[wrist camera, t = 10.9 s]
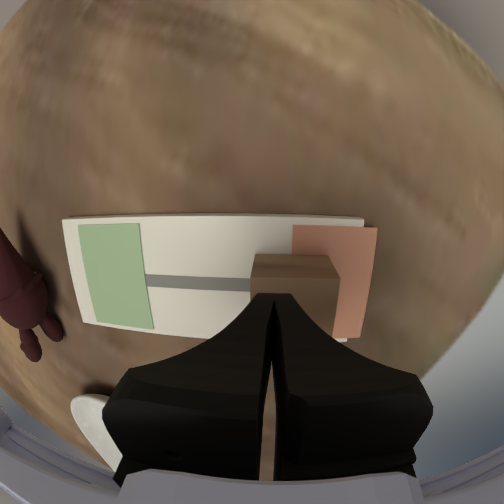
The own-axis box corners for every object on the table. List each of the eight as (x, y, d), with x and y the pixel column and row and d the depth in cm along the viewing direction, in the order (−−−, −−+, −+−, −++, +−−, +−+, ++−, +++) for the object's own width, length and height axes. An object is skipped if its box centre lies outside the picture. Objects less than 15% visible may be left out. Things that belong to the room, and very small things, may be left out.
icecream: (-40, 237, 16) (18, 360, 22) (-29, 230, 13) (44, 379, 19) (7, 213, 22) (54, 328, 28) (30, 201, 19) (86, 338, 25)
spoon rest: (68, 377, 28) (40, 411, 21) (136, 381, 27) (110, 427, 20) (145, 472, 35) (134, 503, 28) (207, 479, 33) (199, 514, 27)
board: (355, 334, 22) (358, 342, 21) (88, 317, 24) (82, 323, 23) (372, 217, 19) (378, 221, 18) (68, 217, 21) (60, 220, 20)
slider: (321, 318, 21) (329, 350, 17) (254, 317, 21) (250, 349, 17) (328, 255, 19) (340, 278, 15) (254, 253, 19) (250, 276, 16)
